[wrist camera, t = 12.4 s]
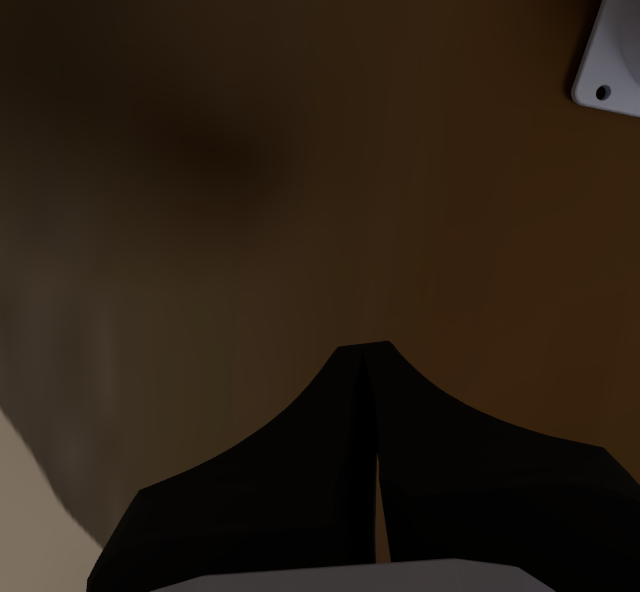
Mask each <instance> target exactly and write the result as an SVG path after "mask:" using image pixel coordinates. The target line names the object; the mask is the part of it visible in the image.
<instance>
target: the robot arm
mask: <svg viewBox="0 0 640 592" xmlns="http://www.w3.org/2000/svg"><path fill="white" fill-rule="evenodd" d="M600 86H602V87H604V88H605V91H606V92H605V96H604V98H603V99H602V100H599V99H597V97H596V91H597V89H598V88H599V87H600ZM571 95H572V99H573V100H574V102H575V103H577V104H579V105H582V106H587V107H592V108H596V109H601V110H606V111H611V112H616V113H620V114H625V115H630V116H635V117H640V0H602V3H601V6H600V9H599V11H598V14H597V17H596V20H595V23H594V26H593V29H592V32H591V35H590V37H589V40H588V43H587V46H586V49H585V52H584V55H583V58H582V61H581V63H580V66H579V69H578V72H577V75H576V78H575V81H574V84H573V87H572V91H571ZM377 455H378V459H379V482H380V489H381V496H382V503H383V509H384V516H385V523H386V530H387V537H388V544H389V550H390V557H391V562H390V563H376V551H375V517H376V471H377ZM86 592H640V485H639V484H638V483H637V482H636V481H635V479H634V478H633V477H632V476H631V475H630V474H629V473H628V472H627V471H626V470H625V469H624V468H623V467H622V466H621V465H620V464H619V463H618V462H617V461H616V460H615V459H614V458H613V457H612V456H611V455H610V454H609V453H608V451H607V450H606V449H605V448H603V447H598V446H594V445H589V444H584V443H580V442H575V441H570V440H566V439H561V438H557V437H552V436H548V435H544V434H541V433H538V432H535V431H531V430H528V429H525V428H522V427H518V426H515V425H513V424H510V423H507V422H504V421H502V420H499V419H497V418H495V417H492V416H490V415H488V414H485V413H483V412H481V411H478V410H476V409H474V408H472V407H470V406H468V405H466V404H464V403H463V402H461V401H459V400H457V399H456V398H454V397H452V396H450V395H449V394H447V393H445V392H444V391H442V390H441V389H439V388H438V387H437V386H435V385H434V384H433V383H431V382H430V381H429V380H428V379H426V378H425V377H424V376H423V375H422V374H421V373H420V372H418V371H417V370H416V369H415V368H414V367H413V366H412V365H411V364H410V363H409V362H408V361H407V360H406V359H405V358H404V357H403V356H402V355H401V354H400V353H399V352H398V350H397V349H396V348H395V347H394V345H393V344H392V343H391V342H389V341H381V342H373V343H365V344H356V345H348V346H340V347H337V349H336V350H335V351H334V352H333V354H332V355H331V356H330V358H329V359H328V361H327V362H326V363H325V365H324V366H323V367H322V369H321V370H320V371H319V373H318V374H317V375H316V376H315V378H314V379H313V380H312V381H311V383H310V384H309V385H308V386H307V387H306V388H305V389H304V391H303V392H302V393H301V394H300V395H299V396H298V397H297V398H296V399H295V400H294V401H293V402H292V403H291V404H290V405H289V406H288V407H287V408H286V409H285V410H283V411H282V412H281V413H280V414H279V415H278V416H276V417H275V418H274V419H273V420H271V421H270V422H269V423H268V424H266V425H265V426H264V427H262V428H261V429H259V430H258V431H256V432H255V433H253V434H252V435H250V436H249V437H247V438H246V439H244V440H243V441H241V442H240V443H238V444H237V445H235V446H234V447H232V448H230V449H228V450H227V451H225V452H223V453H221V454H220V455H218V456H216V457H214V458H212V459H210V460H208V461H206V462H204V463H202V464H200V465H198V466H196V467H194V468H192V469H190V470H188V471H185V472H183V473H180V474H178V475H176V476H173V477H171V478H168V479H166V480H164V481H161V482H159V483H156V484H154V485H152V486H149V487H146V488H144V489H141V490H139V491H138V493H137V494H136V496H135V497H134V499H133V501H132V502H131V504H130V505H129V507H128V509H127V510H126V512H125V513H124V515H123V517H122V518H121V520H120V522H119V524H118V525H117V527H116V529H115V530H114V532H113V534H112V536H111V537H110V539H109V541H108V543H107V544H106V546H105V548H104V549H103V551H102V553H101V555H100V556H99V558H98V560H97V562H96V563H95V566H94V568H93V569H92V571H91V573H90V576H89V577H88V579H87V590H86Z"/></svg>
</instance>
